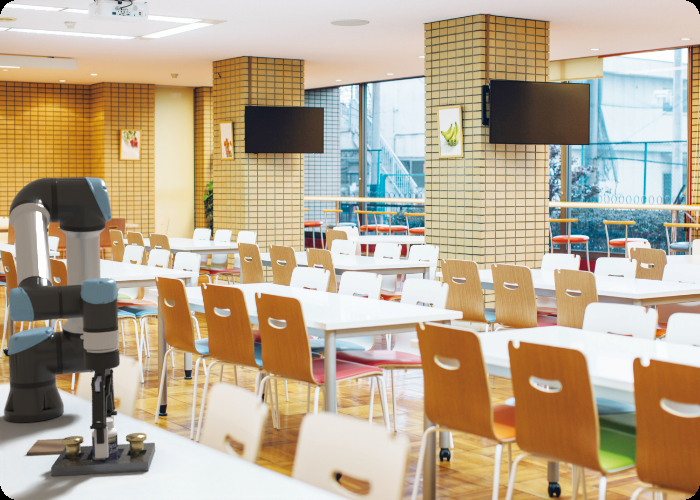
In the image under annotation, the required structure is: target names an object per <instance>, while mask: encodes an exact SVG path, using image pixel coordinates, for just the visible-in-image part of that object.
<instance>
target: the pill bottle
mask: <svg viewBox="0 0 700 500" xmlns="http://www.w3.org/2000/svg"><path fill="white" fill-rule="evenodd" d="M106 424H107V427H108V453H109V457H108V458H95V441H94V430H93V431H92V433H91V446H92V453H93V459H92V460H103V459H119V458H118V445H119V444H118V443H119V441H118V430H117V429H116V428H115V419H114V420H113V419H112V418H106ZM113 426H114V428H113Z"/></svg>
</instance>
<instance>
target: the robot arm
mask: <svg viewBox="0 0 700 500" xmlns="http://www.w3.org/2000/svg"><path fill="white" fill-rule="evenodd" d="M107 188H108V187H107V184H106V182H105V180H103V178H100V177H91V176H90V177H88V176H79V177H78V176H74V177H73V176H72V177H69V176H68V177H42V178H37V179H35V180H32V181H31V182H29V183H27V184H26V185H25V186H23V187H22V188H21V189H20V190H19V191H18V192H17V194H16V195H15V196H14V198H13V199H12V202H11V204H10V207H9V211H8V214H9V215H8V218H9V223H10V226H11V228H13V230H14V232H13V233H14V247H15V264H16V267H15V268H16V283H17V287H15V288H10V289H9V291H8V302H9V303H8V305H9V318H10V319H11V321H13V322H29V323H31V322H38V321H51V320H61V319H63V320H65V319H67V320H66V321H65V322H64V323H63V324H62V331H55V329H54V327H52V326H41V327H34V328H30V329H25V330H21V331H19V332H16V333H14V334H12V335H11V336H10V337H9V338H8V344H7V345H8V346H7V347H8V348H7V350H8V351H7V355H8V369H9V371H8V373H9V392H8V395H7V398H6V402H5V405H4V406H5V407H4V410H3V415H4V416H3V417H4V420H6V421H7V422H11V423H33V422H34V423H35V422H42V421H47V420H51V419H55V418H58V417H60V416H62V415H63V414H65V407H64V402H63V399H62V396H61V394H60V392H59V389H58V387H57V379H56V377H57V376H58V375H59V376H60V375H72V374H81V373H83V374H85V373H94V375H93V377H91V383H90V386H91V425H89V429H90V430H93V431H94V441H95V458H108V457H109V453H108V427H107V424H106V418H112V419H113V420H114V421H115V418H114V417H115V416H118V411H117V410H116V403H115V391H114V388H115V387H114V370H113V369H115V368H117V367H119V366H120V363H121V362H120V350H119V349H118V348H119V346H120V330H119V329H120V328H119V315H118V313H119V312H118V310H119V309H118V308H119V306H118V296H119V293H118V286H117V285H118V284H117V282H116V280H115V279H114V278H106V277H105V278H103V277H102V278H101V245H100V244H101V240H100V239H101V238H100V237H101V233H102V232H104V230H106V223H108V222H111V221H112V210H111V202H110V197H109V192H108V189H107ZM50 223H52V224H53V223H56V224H57V223H58V224H59V230H60V231H61V232H62V233H64V235H65V250H66V251H65V252H66V254H65V255H66V285H53V275H52V266H51V257H50V245H49V236H48V235H49V234H48V227H49V225H50ZM113 428H115V425H114V426H113Z"/></svg>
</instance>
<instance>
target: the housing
mask: <svg viewBox="0 0 700 500" xmlns="http://www.w3.org/2000/svg"><path fill="white" fill-rule="evenodd" d="M143 444H144V452H143V453H142V454H137V455H132V454H130V444H129V443H125V444H124V443H122V444H121V443H120V444H118V459H103V460H93V453H92V445H82V446H81V445H80V449H81V456H79V457H76V458H67V457H66V447H65V448H64V450H63V451H62V453H61V454H59V456H58V457H57V459H56V460H55V461H54V463H53V464H52V466H51V467H50V468H51V472H50V473H51V477H65V476H66V477H67V476H69V477H70V476H87V475H101V474H102V475H103V474H119V473H122V474H123V473H135V472H136V473H137V472H138V473H139V472H140V473H141V472H148V471H149V469H150V467H151V464H152V462H153V459H154V456H155V453H156V443H155V442H143Z"/></svg>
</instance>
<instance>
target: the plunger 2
mask: <svg viewBox="0 0 700 500" xmlns="http://www.w3.org/2000/svg"><path fill="white" fill-rule="evenodd" d="M146 440H147V433H145V432H134V433H133V432H132V433H129V434H127V435H126V436H125V441H126V442H128V444H130V454H132V455H137V454H142V453H143V452H144V444H143V443H144V441H146Z"/></svg>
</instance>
